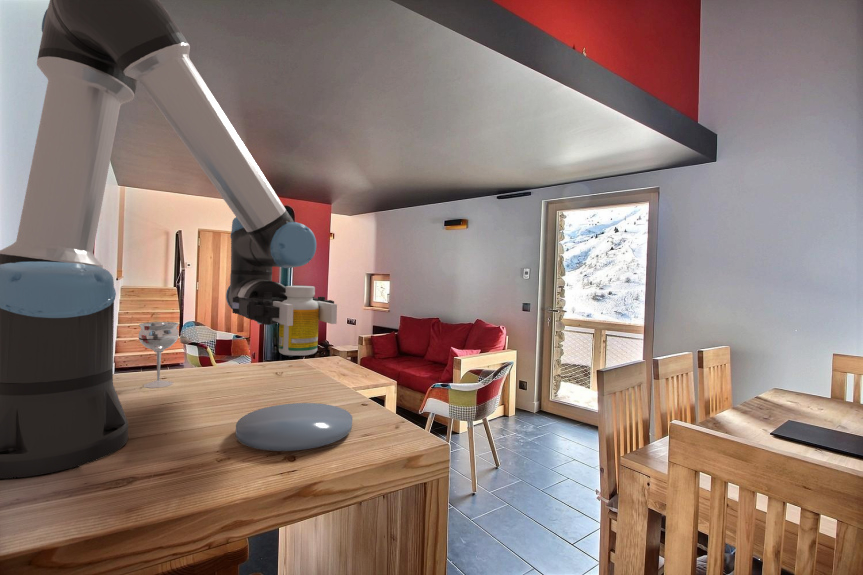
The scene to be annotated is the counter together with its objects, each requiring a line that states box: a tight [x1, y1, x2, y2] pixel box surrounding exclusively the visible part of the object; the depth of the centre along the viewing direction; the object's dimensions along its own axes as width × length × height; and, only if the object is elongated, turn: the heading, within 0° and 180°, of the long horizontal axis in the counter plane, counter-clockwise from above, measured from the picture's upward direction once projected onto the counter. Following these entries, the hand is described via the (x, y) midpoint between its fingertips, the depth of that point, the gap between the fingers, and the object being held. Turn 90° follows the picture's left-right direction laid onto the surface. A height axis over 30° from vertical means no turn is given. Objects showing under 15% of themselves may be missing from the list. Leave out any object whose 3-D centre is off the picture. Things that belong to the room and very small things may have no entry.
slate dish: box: [235, 402, 353, 452], centre depth 62 cm, size 16×16×2 cm
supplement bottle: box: [278, 285, 320, 356], centre depth 62 cm, size 5×5×10 cm
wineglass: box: [137, 321, 180, 389], centre depth 85 cm, size 7×7×12 cm
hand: (312, 314), depth 58 cm, fingers closed on supplement bottle, 5 cm apart
